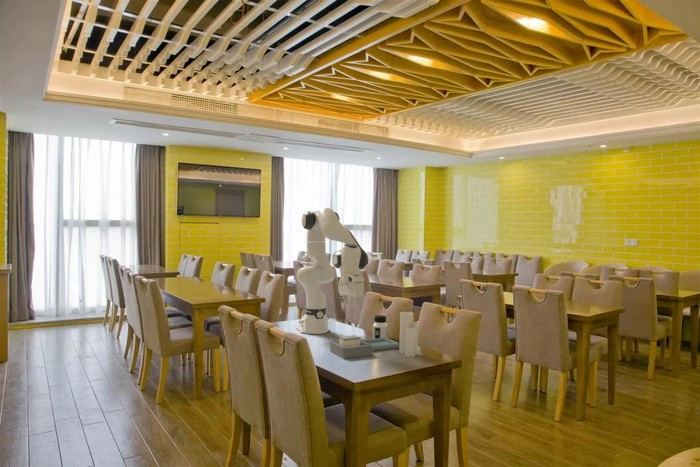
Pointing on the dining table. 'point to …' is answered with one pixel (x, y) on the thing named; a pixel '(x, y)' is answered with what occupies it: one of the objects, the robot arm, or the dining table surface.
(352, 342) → the caddy
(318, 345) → the dining table surface
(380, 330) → the container
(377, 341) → the tray
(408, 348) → the candle
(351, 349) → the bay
